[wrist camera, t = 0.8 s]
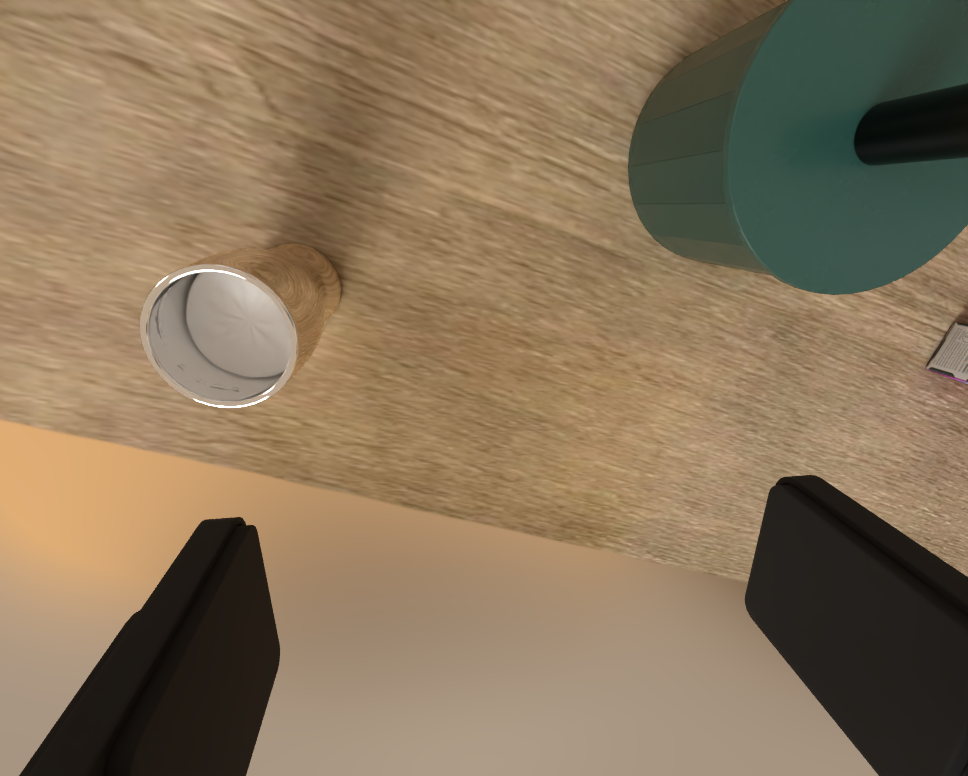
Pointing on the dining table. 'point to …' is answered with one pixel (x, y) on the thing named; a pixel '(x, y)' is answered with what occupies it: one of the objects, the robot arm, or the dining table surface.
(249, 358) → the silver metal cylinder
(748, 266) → the tin
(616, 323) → the dining table surface
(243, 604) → the robot arm
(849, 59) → the tin lid
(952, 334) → the candy bar box
